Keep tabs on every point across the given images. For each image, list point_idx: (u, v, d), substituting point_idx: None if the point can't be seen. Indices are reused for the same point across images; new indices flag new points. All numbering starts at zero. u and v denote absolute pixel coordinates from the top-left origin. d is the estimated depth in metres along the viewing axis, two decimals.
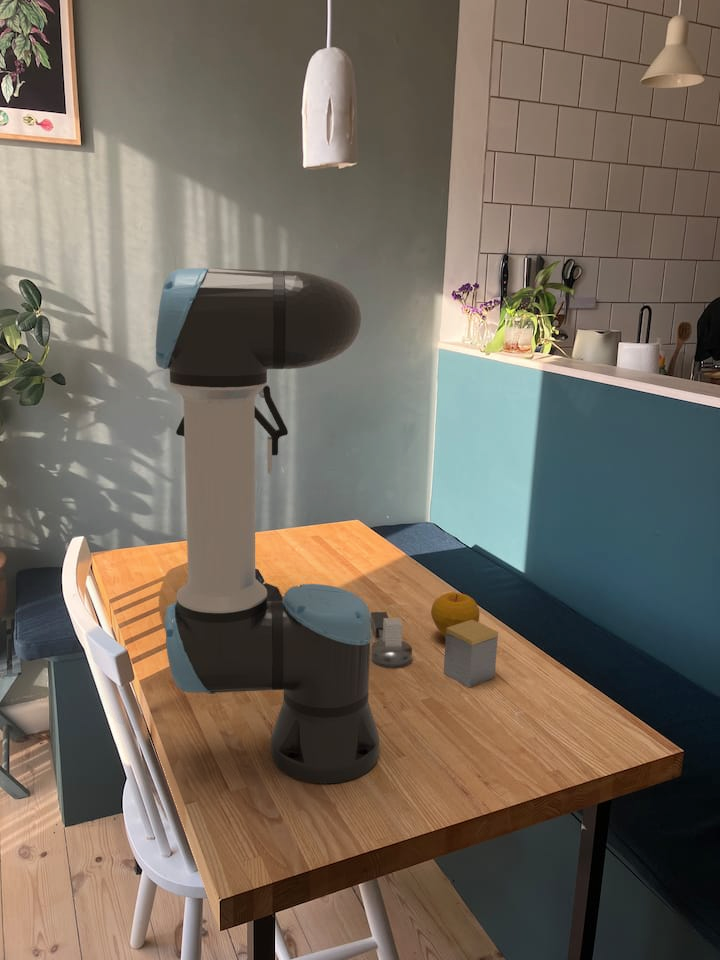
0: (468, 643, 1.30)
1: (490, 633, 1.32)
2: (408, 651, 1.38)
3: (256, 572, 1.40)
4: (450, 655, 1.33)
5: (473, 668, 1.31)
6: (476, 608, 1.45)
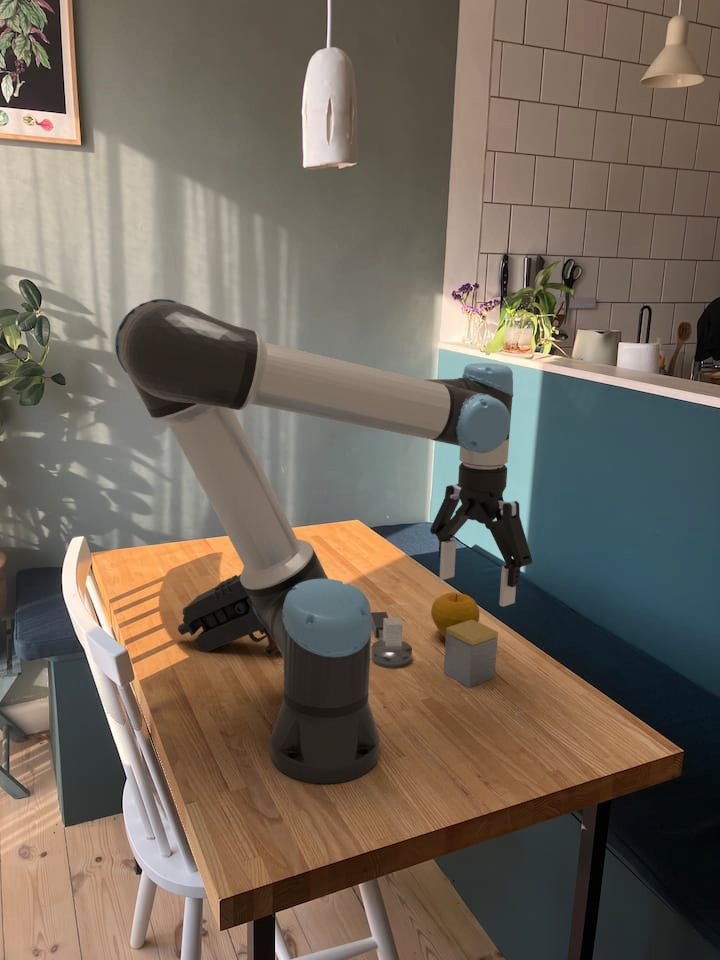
0: (468, 643, 1.30)
1: (490, 633, 1.32)
2: (408, 651, 1.38)
3: None
4: (450, 655, 1.33)
5: (473, 668, 1.31)
6: (476, 608, 1.45)
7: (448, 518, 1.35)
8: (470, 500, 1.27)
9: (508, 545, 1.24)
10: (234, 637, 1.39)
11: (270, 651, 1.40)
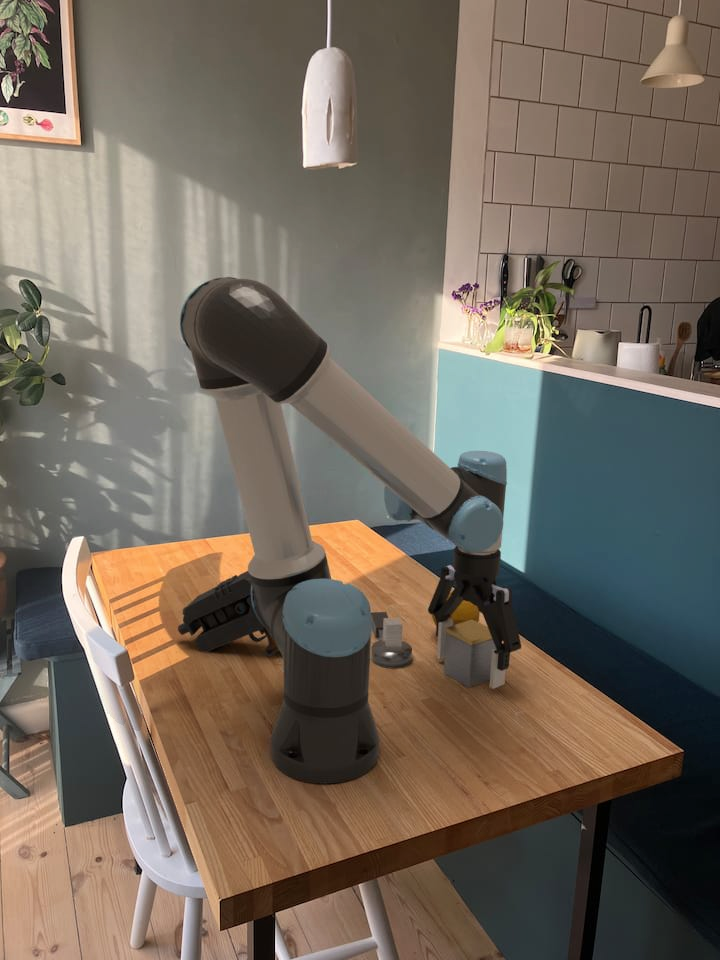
0: (468, 643, 1.30)
1: None
2: (408, 651, 1.38)
3: None
4: (450, 655, 1.33)
5: (473, 668, 1.31)
6: (476, 608, 1.45)
7: (444, 598, 1.38)
8: (464, 582, 1.31)
9: (499, 630, 1.28)
10: (234, 637, 1.39)
11: (270, 651, 1.40)
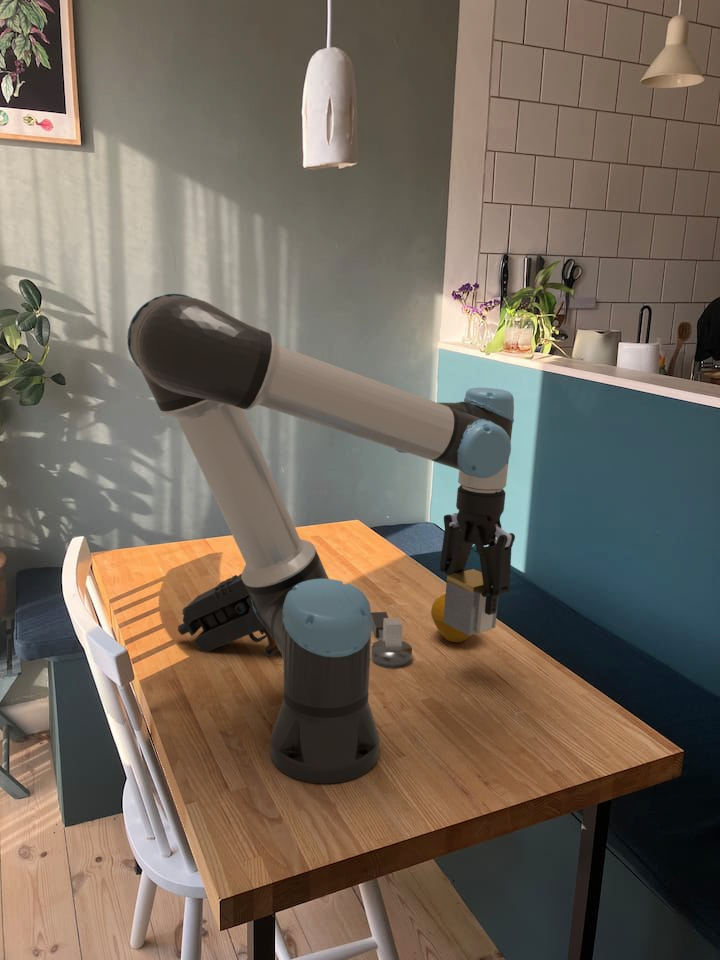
0: (469, 589, 1.27)
1: None
2: (408, 651, 1.38)
3: None
4: (450, 603, 1.31)
5: (474, 616, 1.28)
6: None
7: (454, 551, 1.34)
8: (467, 522, 1.28)
9: (491, 574, 1.27)
10: (234, 637, 1.39)
11: (270, 651, 1.40)
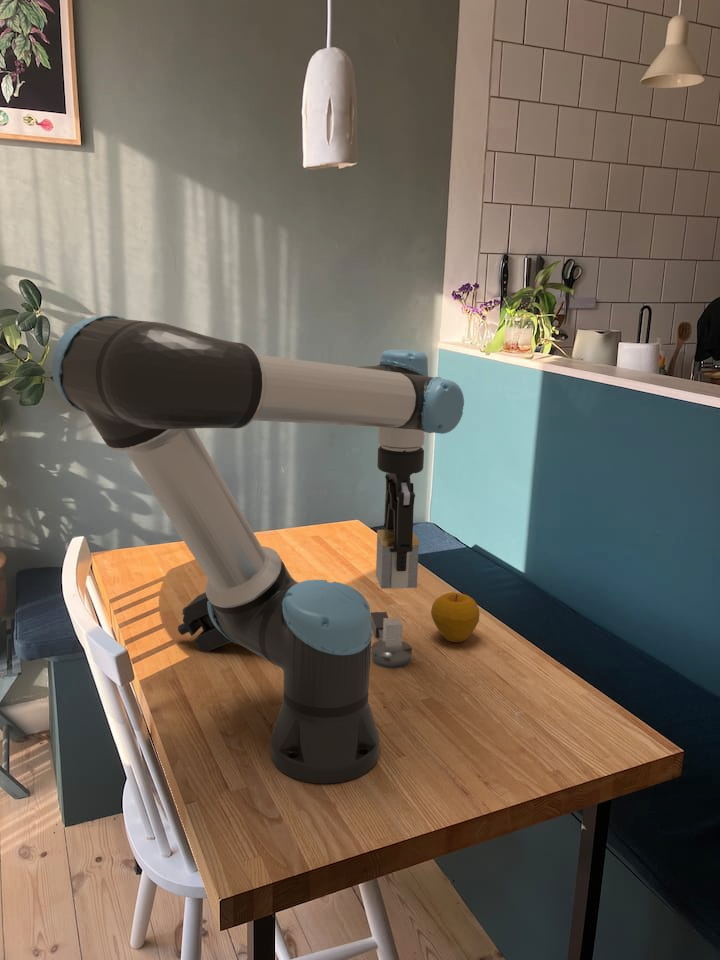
0: (381, 543, 1.32)
1: None
2: (408, 651, 1.38)
3: None
4: (377, 557, 1.37)
5: (386, 570, 1.33)
6: (476, 608, 1.45)
7: None
8: (389, 479, 1.33)
9: None
10: None
11: None
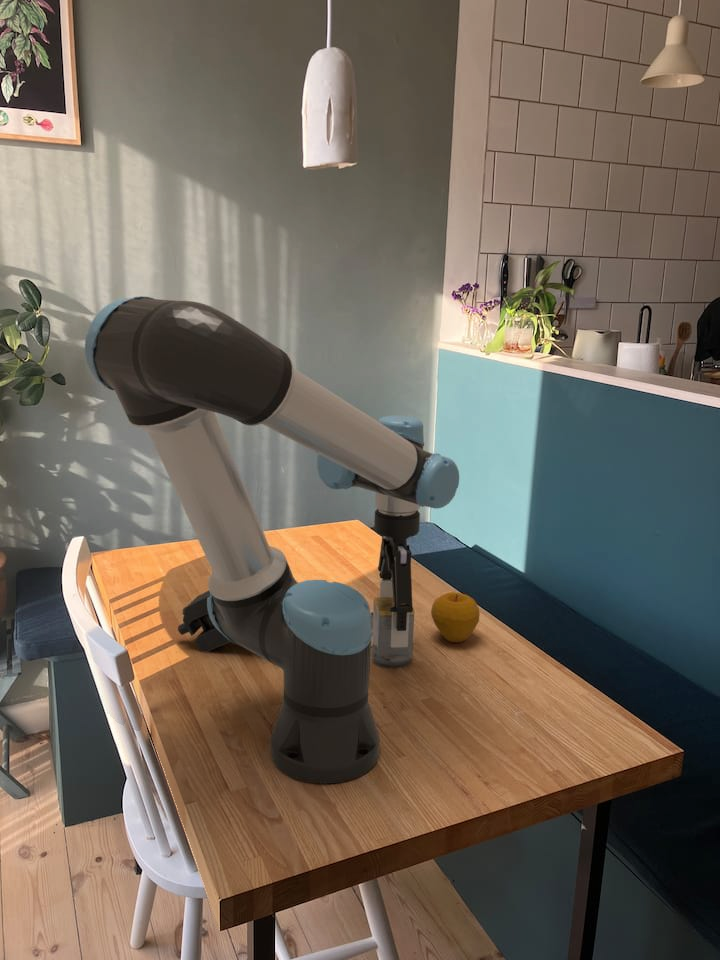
0: (378, 613, 1.35)
1: None
2: None
3: None
4: (374, 624, 1.40)
5: (382, 639, 1.36)
6: (476, 608, 1.45)
7: None
8: (386, 542, 1.35)
9: None
10: None
11: None
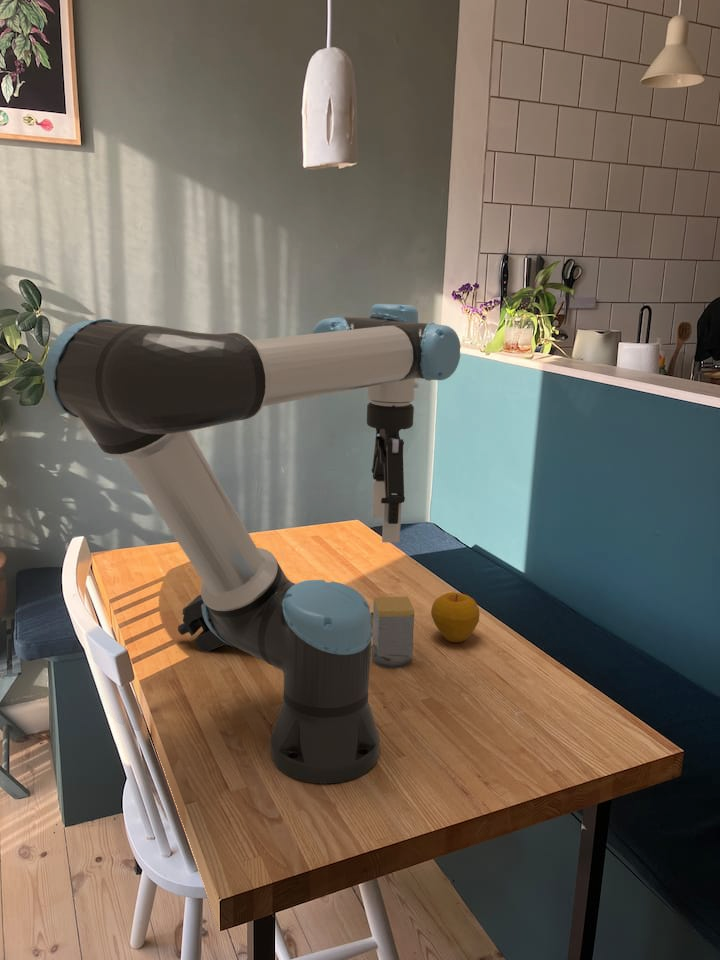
0: (378, 613, 1.35)
1: (405, 609, 1.35)
2: None
3: None
4: (374, 624, 1.40)
5: (382, 639, 1.36)
6: (476, 608, 1.45)
7: None
8: (379, 437, 1.31)
9: None
10: None
11: None
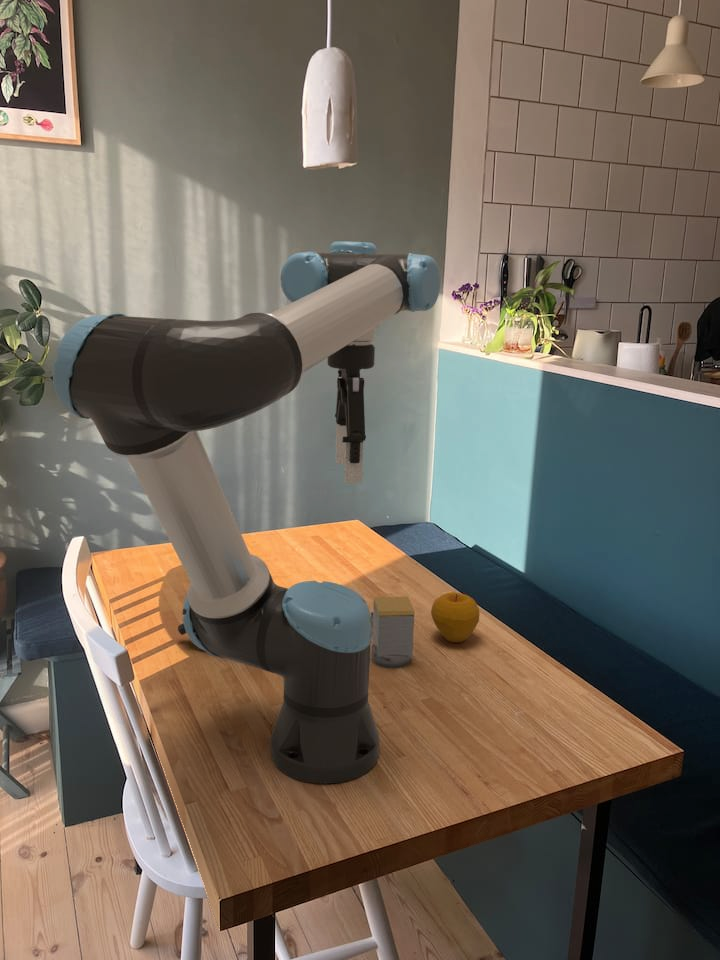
0: (378, 613, 1.35)
1: (405, 609, 1.35)
2: None
3: None
4: (374, 624, 1.40)
5: (382, 639, 1.36)
6: (476, 608, 1.45)
7: None
8: (340, 379, 1.31)
9: None
10: None
11: None
